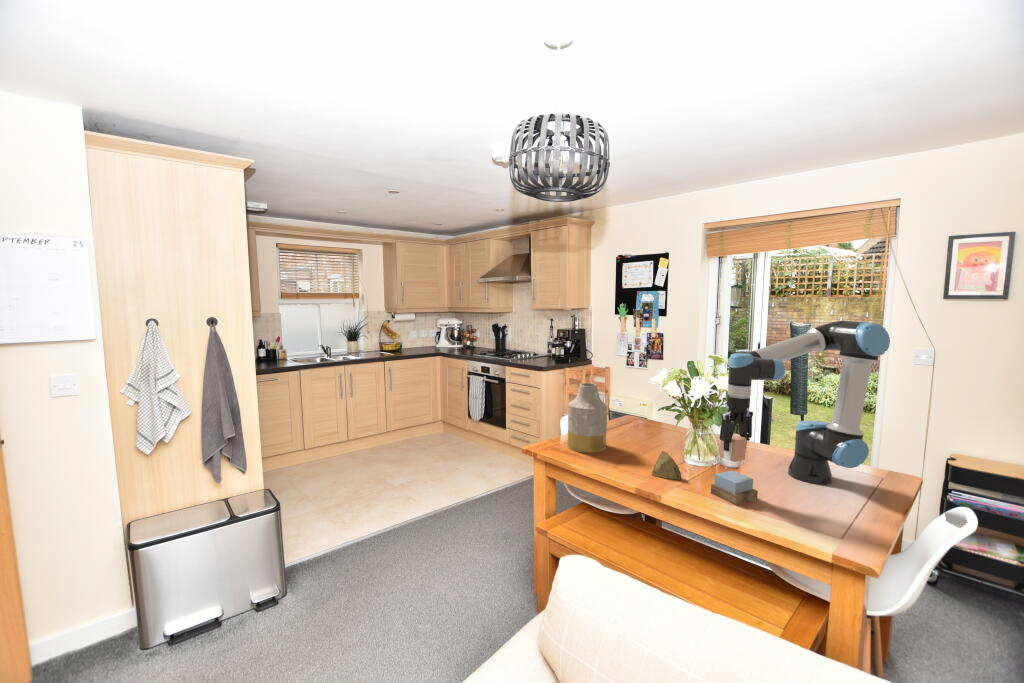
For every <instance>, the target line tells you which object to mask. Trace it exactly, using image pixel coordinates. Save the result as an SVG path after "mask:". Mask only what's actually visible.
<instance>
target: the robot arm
mask: <svg viewBox="0 0 1024 683" xmlns="http://www.w3.org/2000/svg"><path fill="white" fill-rule="evenodd" d="M890 338H891V337H890V334H889V332H888V331H887V330H886V328H885V327H884V326H883V325H880V324H878V323H876V322H875V323H874V322H869V321H851V320H838V321H837V320H836V321H832V322H828V323H825V324H822V325H819V326H815V327H813V328H809V329H808V330H807V331H806V333H802V334H799V335H797V336H794V337H791V338H788V339H785V340H782V341H779V342H776V343H773V344H770V345H766V346H765V347H761V348H758V349H755V350H752V351H749V352H746V353H744V352H743V353H742V352H741V353H740V352H739V353H738V352H735V353H732V354H730V356H729V358H728V362H727V364H728V380H727V381H728V382H727V396H726V406H727V408H728V409H727V411H726V413H724V412H722V413H721V414H720V416H721V424H720V431H719V440H720V441H721V440H722V441H724V458H723V459H725V460H727V461H731V457H732V443H731V439H732V436H733V434H734V433H735V429H736V426H738V431H739V432H738V433H739V436H741V437H744V438H746V445H747V444H748V442H750V440H751V438H752V437H753V435H752V432H753V416H754V412H753V411H751V410H748V409H749V408H750V407H751V406H750V405H751V398H750V397H751V394H752V393H751V392H752V381H775V380H782V379H783V377H784V376H785V375H786V365H785V364H784V362H785V361H788V360H792V359H794V358H797V357H801V356H804V355H806V354H809V353H812V352H816V353H817V352H818V353H822V352H823V351H830V350H831V351H839V353H838V354H839V355H838V357H840V359H841V360H842V366H841V371H840V376H839V381H838V385H837V386H838V387H837V392H836V396H835V403H834V409H833V413H832V421H831V422H825V421H818V420H801V421H799V422H798V423H797V424H796V429H795V441H794V442H795V443H794V454H793V455H794V456H793V458H792V459H791V462H790V464H789V466H788V470H787V473H788V475H789V476H790V477H792V478H794V479H795V480H800V481H802V482H806V483H810V484H818V485H819V484H821V485H826V484H831V483H832V481H833V475H832V472H831V467H830V464H829V462H830V463H833V464H834V465H837V466H840V467H842V468H846V469H854V468H857V467H859V466H860V465H863V463H864V462H865V461H866V460H867V459H868V456H869V452H870V448H869V446H868V444H867V442H865V441H864V440H863V438H864V432H863V431H862V430H861V428H860V427H861V421H862V417H863V411H864V407H865V406H864V405H865V401H866V396H867V390H868V387H869V386H868V385H869V384H868V383H869V381H870V380H869V379H870V375H871V370H872V366H873V364H875V363H877V362H878V360H879V357H880V356H882V355H884V354H885V353H886V352H887V351H888V350H889V348H890V346H891V345H890V344H891V340H890ZM731 462H732V461H731Z"/></svg>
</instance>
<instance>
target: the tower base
mask: <svg viewBox="0 0 1024 683" xmlns="http://www.w3.org/2000/svg"><path fill="white" fill-rule="evenodd" d="M758 492H759V491H758V490H757V489H755V488H753V490H749V491H745V492H741V493H737V494H734V493H732V492H730V491H727V490H725V489H723V488H721V487H719V486H717V485H715V483H711V485H710V494H711V495H713V496H716V497H718V498H719V499H721V500H724V501H726V502H728V503H730V504H731V505H733V506H740V505H744V504H747V503H750V502H755V501H757V500H758Z"/></svg>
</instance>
